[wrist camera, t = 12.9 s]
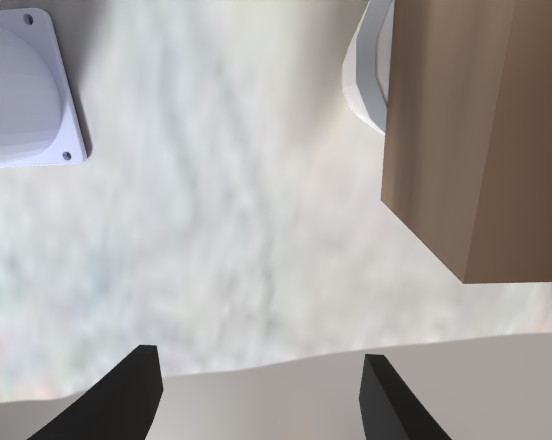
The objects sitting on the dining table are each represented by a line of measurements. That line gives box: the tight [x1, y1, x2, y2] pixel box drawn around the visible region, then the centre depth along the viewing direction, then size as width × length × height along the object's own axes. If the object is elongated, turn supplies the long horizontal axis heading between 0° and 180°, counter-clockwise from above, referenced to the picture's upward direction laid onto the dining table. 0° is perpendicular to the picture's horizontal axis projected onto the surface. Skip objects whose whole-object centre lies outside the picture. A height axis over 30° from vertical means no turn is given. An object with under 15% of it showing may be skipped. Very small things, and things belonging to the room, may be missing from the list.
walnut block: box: [381, 0, 552, 284], centre depth 7 cm, size 4×10×6 cm, turn 3°
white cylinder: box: [342, 0, 395, 136], centre depth 13 cm, size 7×7×7 cm
